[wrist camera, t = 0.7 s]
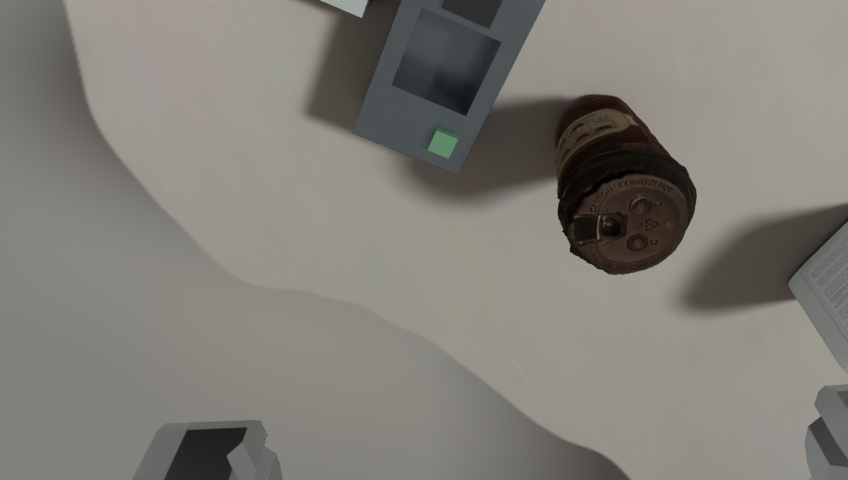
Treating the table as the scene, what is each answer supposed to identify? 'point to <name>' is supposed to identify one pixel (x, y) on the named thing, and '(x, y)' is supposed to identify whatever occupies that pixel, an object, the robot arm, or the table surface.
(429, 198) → the table surface
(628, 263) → the coffee cup
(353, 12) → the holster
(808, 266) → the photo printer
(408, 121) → the grey block with recess
